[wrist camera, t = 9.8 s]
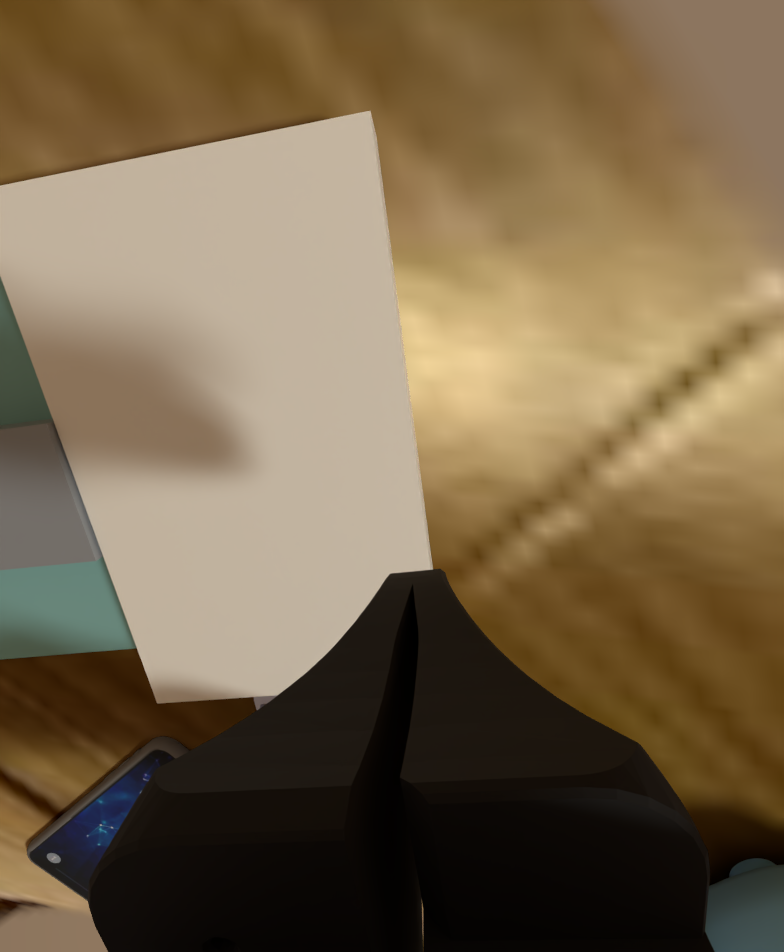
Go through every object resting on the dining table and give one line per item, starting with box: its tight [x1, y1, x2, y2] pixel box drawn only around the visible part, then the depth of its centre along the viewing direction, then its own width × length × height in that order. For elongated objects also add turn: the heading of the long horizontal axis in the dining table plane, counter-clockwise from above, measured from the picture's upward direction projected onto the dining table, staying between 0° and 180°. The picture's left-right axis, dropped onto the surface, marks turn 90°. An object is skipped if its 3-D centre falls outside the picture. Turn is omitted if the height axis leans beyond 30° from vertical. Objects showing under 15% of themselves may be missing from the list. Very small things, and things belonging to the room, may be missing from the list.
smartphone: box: [27, 737, 190, 901], centre depth 28 cm, size 7×1×15 cm
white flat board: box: [0, 111, 433, 704], centre depth 19 cm, size 22×14×2 cm, turn 8°
